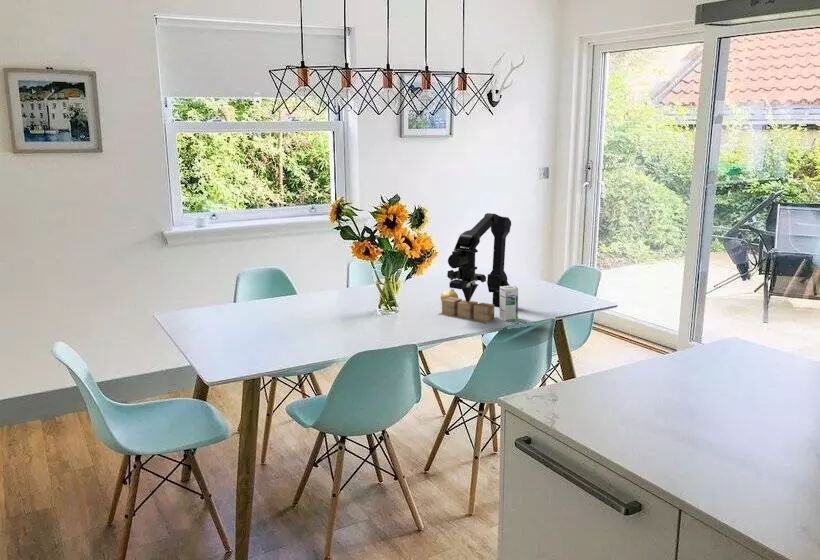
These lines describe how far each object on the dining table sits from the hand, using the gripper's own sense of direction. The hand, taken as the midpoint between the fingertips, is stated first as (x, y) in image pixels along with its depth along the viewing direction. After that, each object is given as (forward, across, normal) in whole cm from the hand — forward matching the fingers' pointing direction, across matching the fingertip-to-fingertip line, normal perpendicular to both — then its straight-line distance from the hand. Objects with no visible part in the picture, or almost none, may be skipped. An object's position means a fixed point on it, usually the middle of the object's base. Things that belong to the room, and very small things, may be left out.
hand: (467, 301), depth 285 cm
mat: (+7, 0, 0) cm, 7 cm away
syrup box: (+8, -6, +16) cm, 19 cm away
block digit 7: (+6, 0, +8) cm, 10 cm away
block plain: (+6, 0, 0) cm, 6 cm away
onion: (+8, -15, -20) cm, 26 cm away
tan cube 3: (+6, 0, -8) cm, 10 cm away
